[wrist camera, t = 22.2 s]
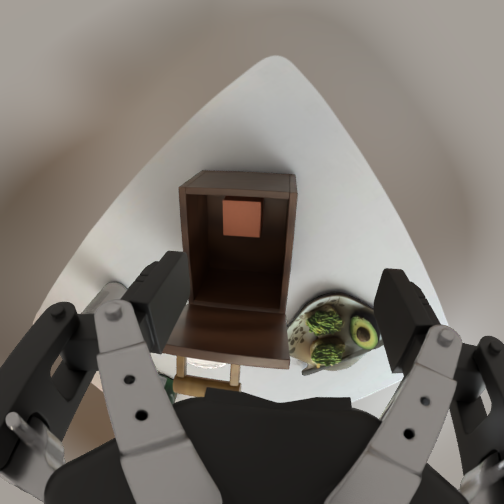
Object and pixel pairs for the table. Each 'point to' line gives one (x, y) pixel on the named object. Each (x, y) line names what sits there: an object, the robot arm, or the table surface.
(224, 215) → the block
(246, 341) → the lid
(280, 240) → the box
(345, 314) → the avocado toast plate
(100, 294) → the energy drink can
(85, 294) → the table surface
